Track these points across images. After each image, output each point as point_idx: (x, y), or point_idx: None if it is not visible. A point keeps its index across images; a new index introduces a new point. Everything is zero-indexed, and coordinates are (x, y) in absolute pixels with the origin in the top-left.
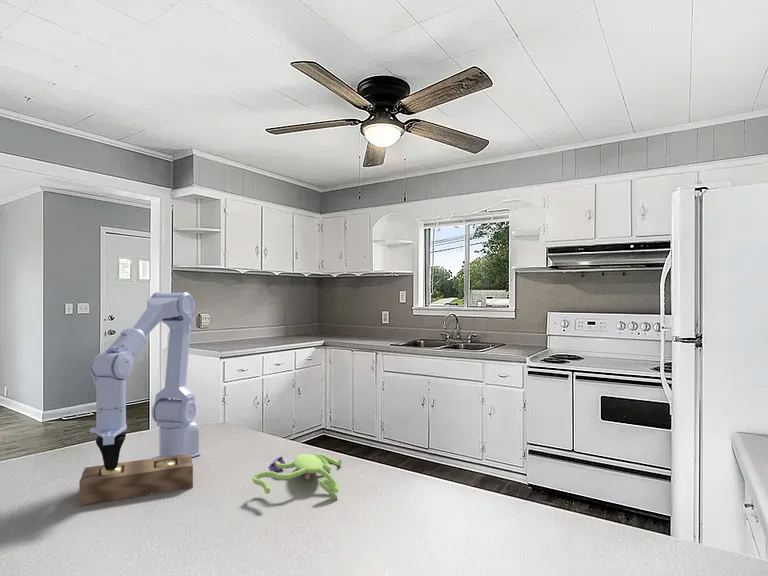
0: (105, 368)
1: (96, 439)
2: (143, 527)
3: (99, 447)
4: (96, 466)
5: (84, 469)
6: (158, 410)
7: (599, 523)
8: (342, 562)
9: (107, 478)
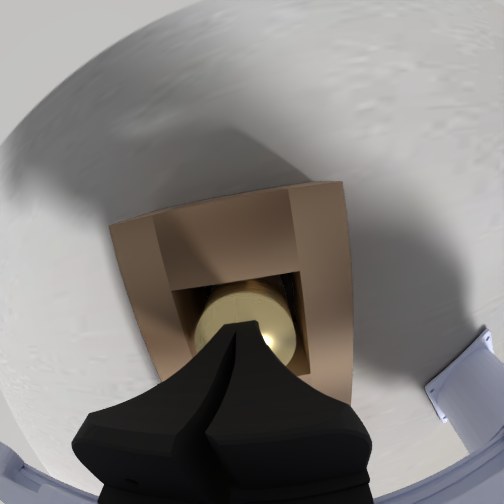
0: None
1: (107, 449)
2: (53, 377)
3: (121, 408)
4: (341, 243)
5: (306, 187)
6: None
7: None
8: (52, 473)
9: (144, 337)
